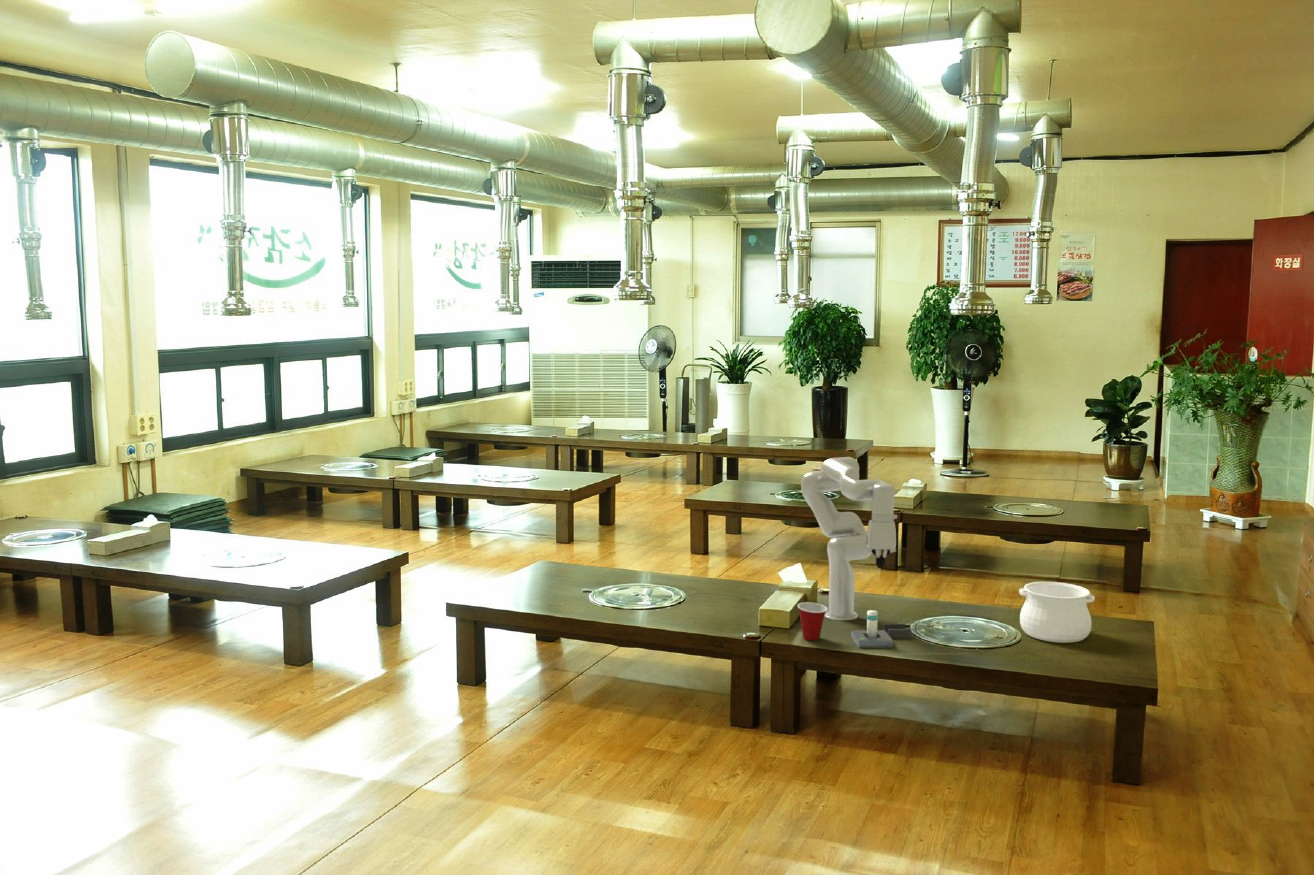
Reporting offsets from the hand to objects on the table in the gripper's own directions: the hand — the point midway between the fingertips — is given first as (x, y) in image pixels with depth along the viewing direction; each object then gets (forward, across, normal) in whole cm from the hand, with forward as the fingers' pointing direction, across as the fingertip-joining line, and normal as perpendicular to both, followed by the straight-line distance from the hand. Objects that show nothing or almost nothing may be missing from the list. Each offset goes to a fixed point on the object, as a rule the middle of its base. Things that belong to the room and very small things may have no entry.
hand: (879, 567), depth 378 cm
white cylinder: (+24, +4, +11) cm, 27 cm away
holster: (+25, -7, +3) cm, 26 cm away
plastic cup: (+26, +24, +5) cm, 36 cm away
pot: (+24, -65, 0) cm, 69 cm away
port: (+25, +4, +11) cm, 28 cm away
